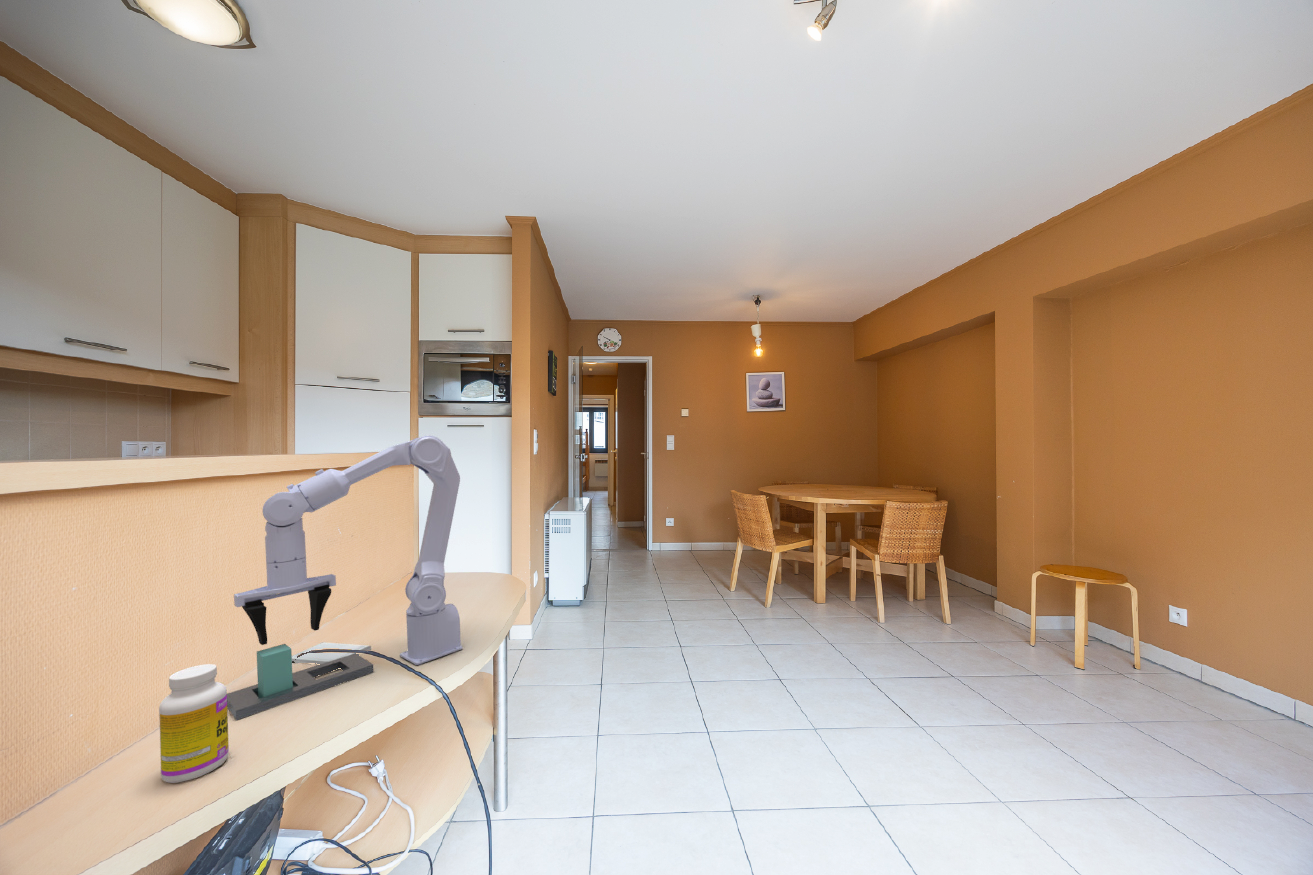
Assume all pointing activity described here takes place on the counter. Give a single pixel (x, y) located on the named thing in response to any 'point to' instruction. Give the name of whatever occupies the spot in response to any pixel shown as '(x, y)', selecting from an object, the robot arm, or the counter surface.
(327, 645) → the hard drive
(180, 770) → the supplement bottle
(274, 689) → the teal peg
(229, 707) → the steel rail
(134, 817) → the counter surface
